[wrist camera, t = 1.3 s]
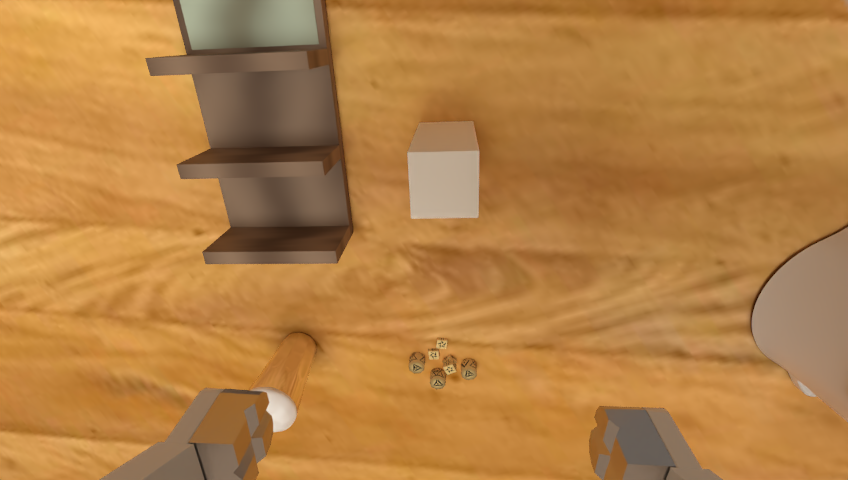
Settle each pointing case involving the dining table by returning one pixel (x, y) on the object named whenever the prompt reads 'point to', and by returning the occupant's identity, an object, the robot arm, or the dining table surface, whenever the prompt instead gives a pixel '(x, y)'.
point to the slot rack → (267, 127)
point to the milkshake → (286, 378)
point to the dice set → (448, 365)
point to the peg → (444, 170)
